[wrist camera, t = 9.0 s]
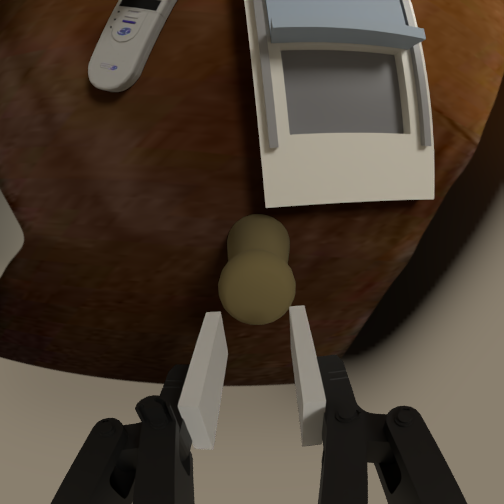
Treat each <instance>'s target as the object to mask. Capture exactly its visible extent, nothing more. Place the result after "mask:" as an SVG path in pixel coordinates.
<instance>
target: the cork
mask: <svg viewBox="0 0 504 504" xmlns="http://www.w3.org/2000/svg"><path fill="white" fill-rule="evenodd" d="M289 249H290V239H289V236H288V233H287V230H286V229H285V228H284V226H283V225H282V224H281V223H280V222H279V221H277V220H276V219H275V218H273V217H271V216H267V215H264V214H252V215H249V216H246V217H243V218H242V219H240V220H239V221H238V222H236V223H235V224H234V226H233V227H232V229H231V230H230V232H229V235H228V239H227V251H228V263H227V264H226V265H225V267H224V268H223V270H222V272H221V276H220V279H219V283H218V289H219V297H220V300H221V302H222V304H223V307H224V308H225V309H226V311H227V312H228V313H229V314H230V315H231V316H232V317H234V318H236V319H237V320H239V321H241V322H243V323H247V324H251V325H263V324H267V323H270V322H273V321H275V320H277V319H278V318H280V317H281V316H283V315H284V314H285V313H286V311H287V310H288V309H289V307H290V306H291V304H292V301H293V299H294V296H295V284H296V283H295V280H294V276H293V273H292V270H291V268H290V267H289V266H288V257H289Z"/></svg>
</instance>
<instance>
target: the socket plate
mask: <svg viewBox="0 0 504 504" xmlns="http://www.w3.org/2000/svg"><path fill="white" fill-rule="evenodd" d="M399 1H400V4H401V8H402V12H403V16H404V20H405V24H406V25H407V26H413V27H417V23H416V19H415V15H414V11H413V7H412V3H411V0H399ZM244 2H245V11H246V19H247V28H248V36H249V45H250V54H251V63H252V72H253V82H254V91H255V101H256V111H257V120H258V131H259V141H260V151H261V162H262V173H263V184H264V195H265V206H266V208H273V207H286V206H299V205H314V204H330V203H347V202H366V201H390V200H420V199H434V143H433V127H432V114H431V104H430V95H429V87H428V80H427V73H426V67H425V61H424V56H423V50H422V45H421V42H420V43H418V44H416V45H414V46H413V47H411V48H409V49H408V50H406V49H400V48H392V47H384V46H375V45H365V44H352V43H331V42H289V43H271V37H270V30H269V22H268V15H267V8H266V1H265V0H244Z"/></svg>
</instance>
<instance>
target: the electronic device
mask: <svg viewBox="0 0 504 504" xmlns="http://www.w3.org/2000/svg"><path fill="white" fill-rule="evenodd" d="M176 1H177V0H119V1H118V3H117V5H116V7H115V8H114V10H113V12H112V14H111V16H110V18H109V20H108V22H107V24H106V26H105V28H104V30H103V32H102V34H101V37H100V39H99V41H98V43H97V45H96V48H95V50H94V52H93V55H92V57H91V60H90V62H89V66H88V76H89V79H90V82H91V83H92V85H93V86H95V87H96V88H98V89H101V90H105V91H110V92H121V91H124V90H126V89H128V88H129V87H131V86H132V85H133V84H134V83H135V82H136V81H137V79H138V78H139V77H140V75H141V72H142V70H143V68H144V65H145V63H146V61H147V59H148V56H149V54H150V52H151V50H152V48H153V46H154V43H155V41H156V39H157V37H158V35H159V33H160V31H161V29H162V27H163V25H164V23H165V21H166V19H167V18H168V16H169V14H170V12H171V10H172V8H173V6H174V5H175V3H176Z"/></svg>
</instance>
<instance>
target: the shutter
mask: <svg viewBox="0 0 504 504" xmlns="http://www.w3.org/2000/svg"><path fill="white" fill-rule="evenodd" d="M265 1H266V8H267V15H268V22H269V30H270V37H271V43H289V42H331V43H352V44H365V45H375V46H384V47H392V48H400V49H406V50H408V49H409V48H411V47H413V46H414V45H416V44H418V43H420V42H422V41H423V40H425V39H426V38H425V33H424V29H422V28H418V27H413V26H407V25H406V24H405V20H404V16H403V12H402V8H401V4H400V1H399V0H265Z"/></svg>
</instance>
